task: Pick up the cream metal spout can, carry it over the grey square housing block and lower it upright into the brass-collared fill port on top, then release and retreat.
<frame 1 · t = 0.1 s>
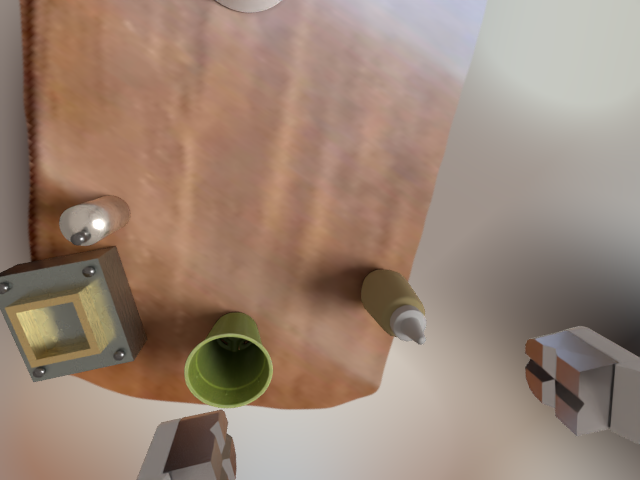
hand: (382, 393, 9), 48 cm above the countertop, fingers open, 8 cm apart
squeeze bottle: (378, 284, 62), on the countertop
plant pot: (236, 331, 61), on the countertop
grey square housing block: (85, 303, 56), on the countertop
spout can: (112, 212, 53), on the countertop
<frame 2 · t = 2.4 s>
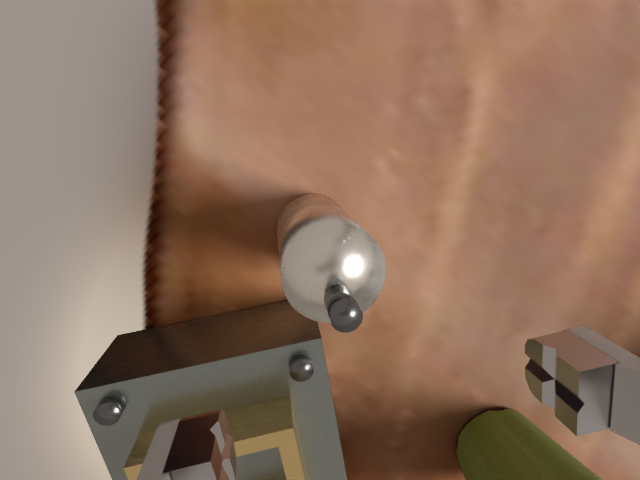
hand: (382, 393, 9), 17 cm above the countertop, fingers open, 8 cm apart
plant pot: (490, 438, 34), on the countertop
grey square housing block: (240, 404, 29), on the countertop
spout can: (312, 228, 26), on the countertop
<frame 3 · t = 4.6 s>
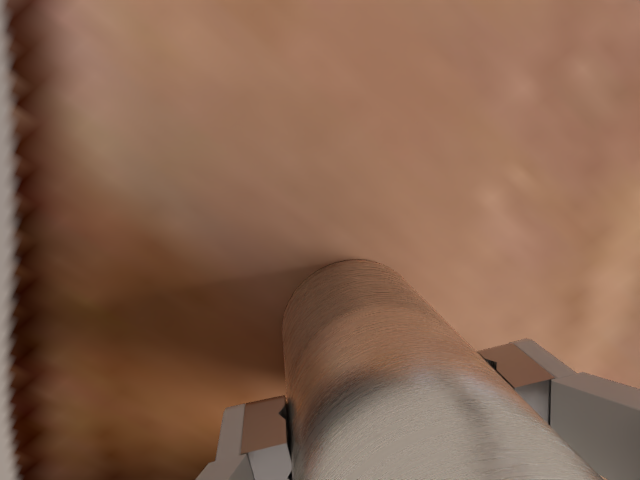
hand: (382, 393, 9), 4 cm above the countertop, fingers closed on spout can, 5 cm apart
spout can: (352, 326, 13), on the countertop, touching gripper
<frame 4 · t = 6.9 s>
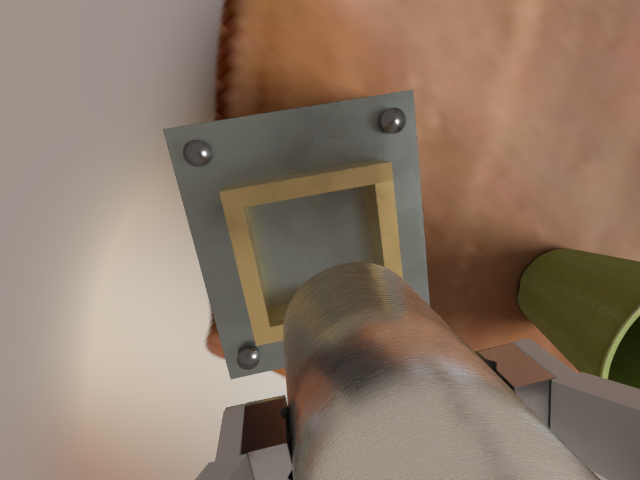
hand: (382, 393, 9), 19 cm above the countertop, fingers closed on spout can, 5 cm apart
plant pot: (550, 286, 33), on the countertop
grey square housing block: (305, 223, 28), on the countertop
spout can: (353, 328, 13), point 16 cm above the countertop, touching gripper
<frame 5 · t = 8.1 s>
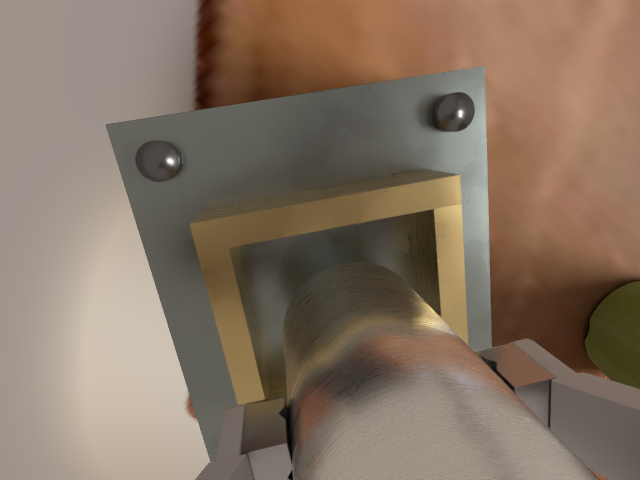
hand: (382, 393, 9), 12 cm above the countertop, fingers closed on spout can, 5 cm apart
plant pot: (624, 325, 26), on the countertop
grey square housing block: (317, 251, 21), on the countertop
spout can: (353, 328, 13), point 9 cm above the countertop, touching gripper
when the fingers open (11 cm above the countertop, at t = 9.2 s): spout can drops 1 cm, resting on grey square housing block.
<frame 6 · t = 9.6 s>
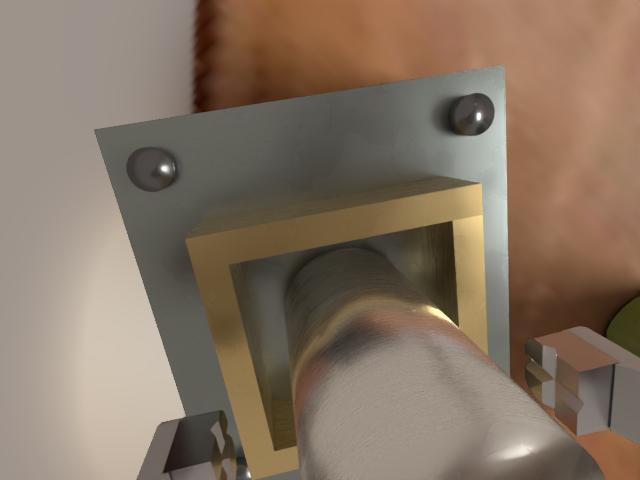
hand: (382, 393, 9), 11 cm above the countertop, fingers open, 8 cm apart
grey square housing block: (322, 261, 20), on the countertop
spout can: (347, 308, 14), point 6 cm above the countertop, touching grey square housing block
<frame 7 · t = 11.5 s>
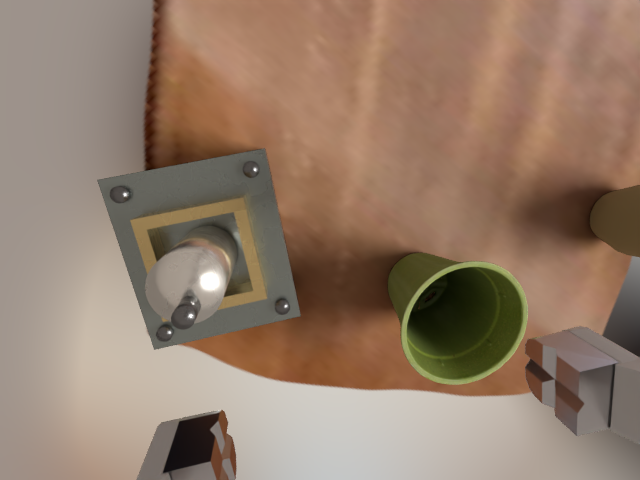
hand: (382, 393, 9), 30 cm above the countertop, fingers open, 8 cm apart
squeeze bottle: (608, 214, 44), on the countertop
plant pot: (415, 281, 43), on the countertop
grey square housing block: (216, 238, 38), on the countertop
spout can: (208, 253, 32), point 6 cm above the countertop, touching grey square housing block
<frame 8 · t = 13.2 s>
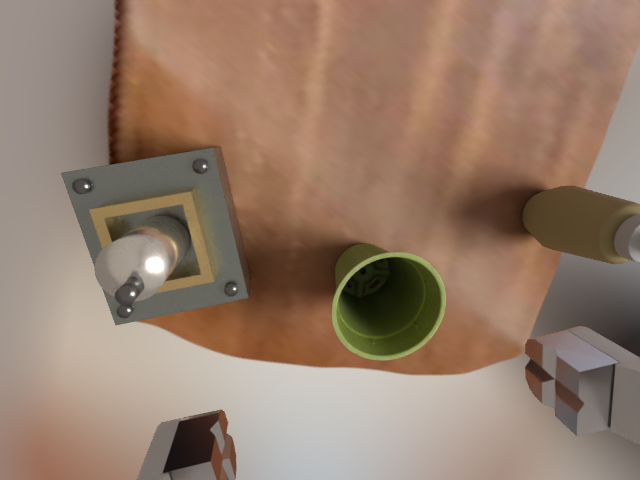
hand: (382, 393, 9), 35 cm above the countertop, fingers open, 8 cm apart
squeeze bottle: (540, 212, 48), on the countertop
plant pot: (361, 270, 47), on the countertop
grey square housing block: (176, 227, 42), on the countertop
spout can: (163, 240, 36), point 6 cm above the countertop, touching grey square housing block
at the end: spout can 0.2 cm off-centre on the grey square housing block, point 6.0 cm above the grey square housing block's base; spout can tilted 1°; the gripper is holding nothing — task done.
